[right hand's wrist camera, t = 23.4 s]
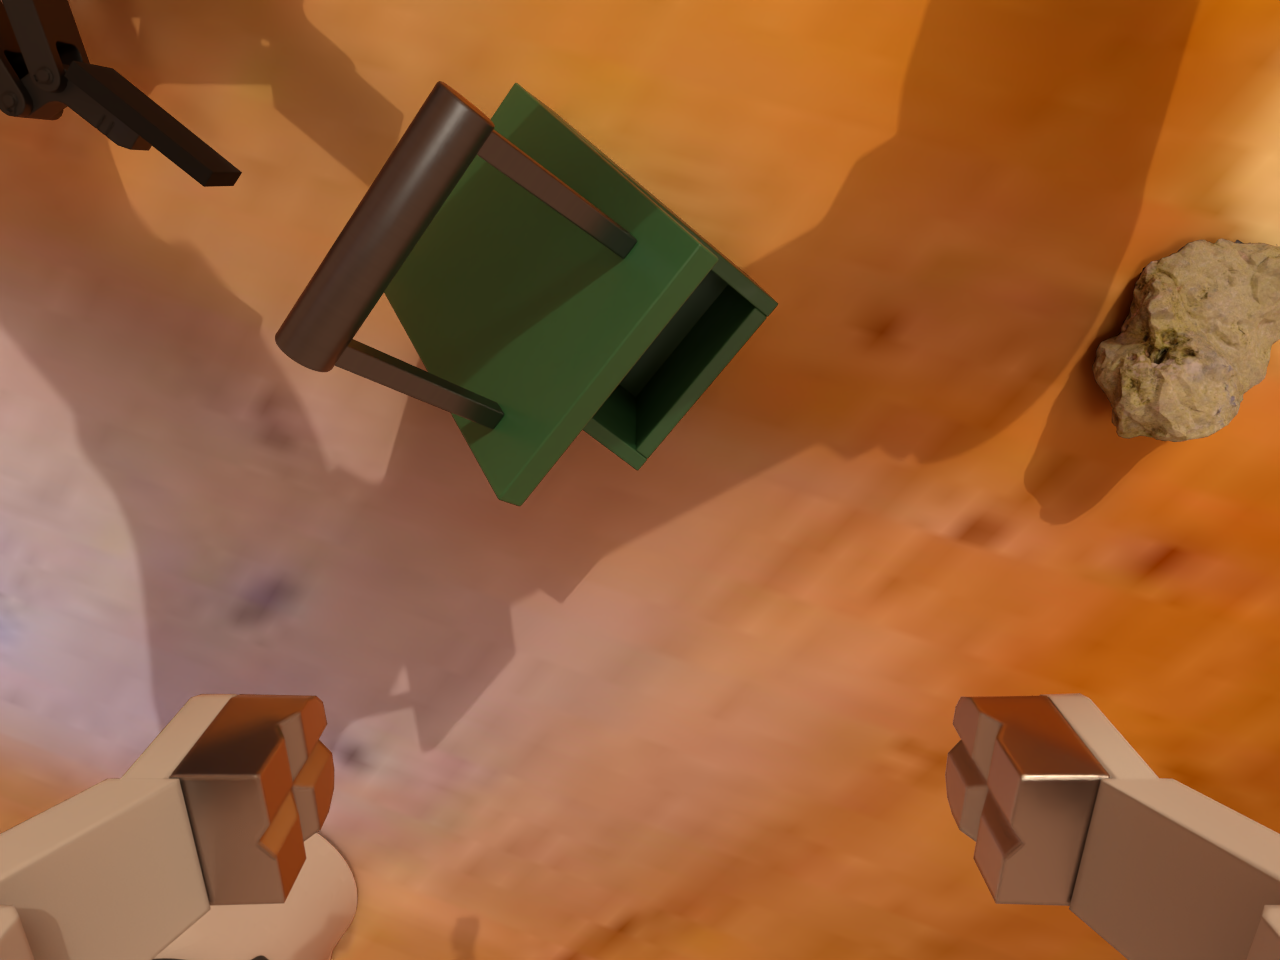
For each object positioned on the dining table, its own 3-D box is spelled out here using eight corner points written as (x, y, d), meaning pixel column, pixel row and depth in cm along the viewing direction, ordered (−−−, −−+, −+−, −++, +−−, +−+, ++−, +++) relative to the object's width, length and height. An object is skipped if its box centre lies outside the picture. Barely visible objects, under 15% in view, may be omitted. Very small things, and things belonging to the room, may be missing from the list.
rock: (1281, 244, 45) (1124, 223, 43) (1396, 261, 39) (1221, 236, 37) (1206, 428, 49) (1059, 416, 47) (1301, 468, 43) (1138, 455, 41)
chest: (748, 276, 45) (779, 304, 35) (638, 411, 47) (637, 471, 38) (552, 110, 42) (526, 90, 32) (446, 263, 44) (392, 287, 35)
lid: (720, 259, 23) (504, 81, 17) (520, 507, 26) (273, 427, 20) (533, 96, 32) (346, -60, 26) (398, 294, 35) (201, 193, 29)
